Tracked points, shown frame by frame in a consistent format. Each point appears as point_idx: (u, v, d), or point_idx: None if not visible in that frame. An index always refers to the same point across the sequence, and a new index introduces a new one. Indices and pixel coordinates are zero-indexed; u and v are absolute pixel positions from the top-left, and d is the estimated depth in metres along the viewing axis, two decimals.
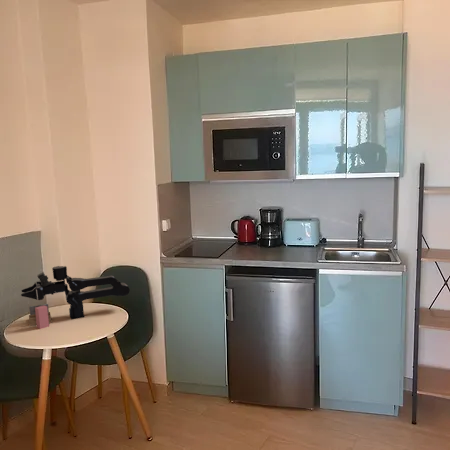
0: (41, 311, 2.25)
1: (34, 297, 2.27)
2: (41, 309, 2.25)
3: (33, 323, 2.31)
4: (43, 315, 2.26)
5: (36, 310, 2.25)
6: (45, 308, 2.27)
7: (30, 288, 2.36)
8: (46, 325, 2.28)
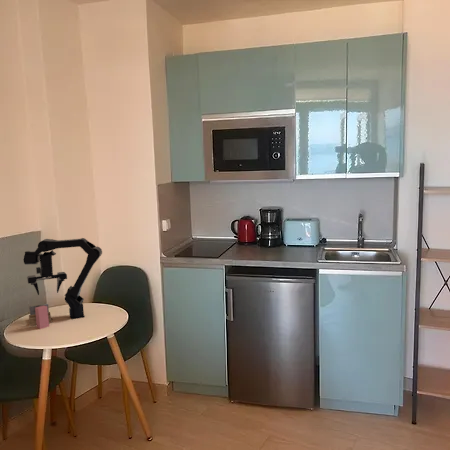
0: (41, 311, 2.25)
1: None
2: (41, 309, 2.25)
3: (33, 323, 2.31)
4: (43, 315, 2.26)
5: (36, 310, 2.25)
6: (45, 308, 2.27)
7: (57, 284, 2.42)
8: (46, 325, 2.28)
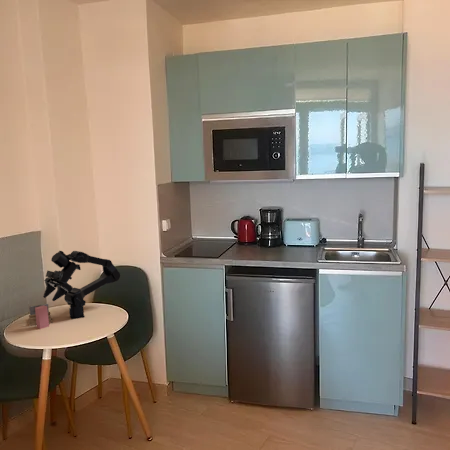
0: (41, 311, 2.25)
1: (64, 293, 2.29)
2: (41, 309, 2.25)
3: (33, 323, 2.31)
4: (43, 315, 2.26)
5: (36, 310, 2.25)
6: (45, 308, 2.27)
7: (48, 289, 2.34)
8: (46, 325, 2.28)
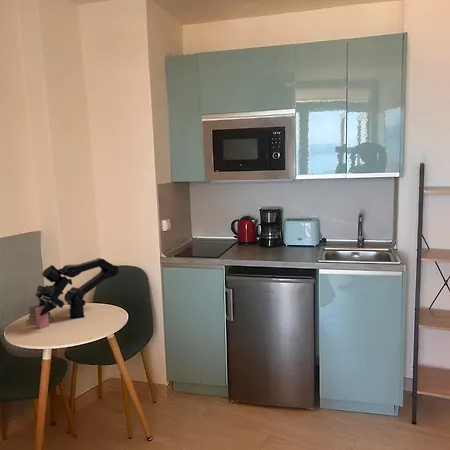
0: (41, 311, 2.25)
1: (52, 307, 2.27)
2: (41, 309, 2.25)
3: (33, 323, 2.31)
4: (43, 315, 2.26)
5: (36, 310, 2.25)
6: None
7: (41, 305, 2.29)
8: (46, 325, 2.28)
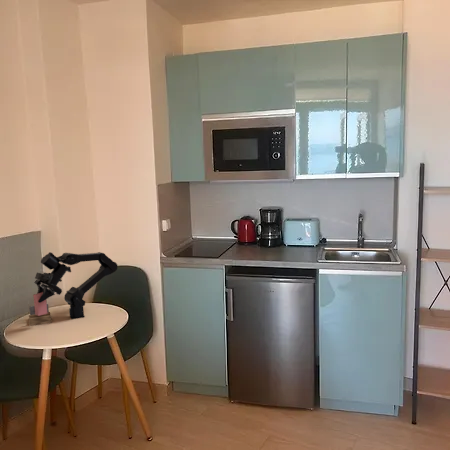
0: (39, 298, 2.25)
1: (51, 294, 2.27)
2: (39, 296, 2.25)
3: (33, 323, 2.31)
4: (41, 302, 2.26)
5: (35, 297, 2.25)
6: None
7: (39, 292, 2.29)
8: (44, 312, 2.27)
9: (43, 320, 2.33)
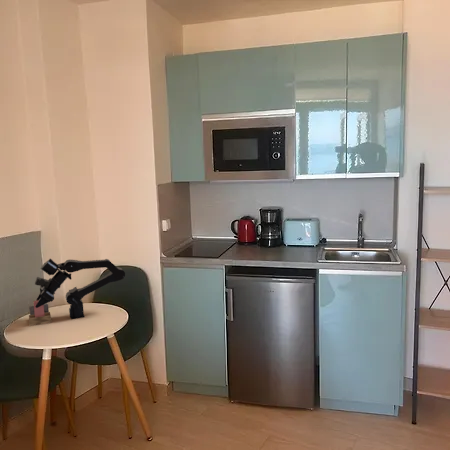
0: None
1: (47, 301, 2.30)
2: (36, 303, 2.32)
3: (33, 323, 2.31)
4: (39, 309, 2.33)
5: None
6: None
7: (40, 295, 2.38)
8: None
9: (43, 320, 2.33)
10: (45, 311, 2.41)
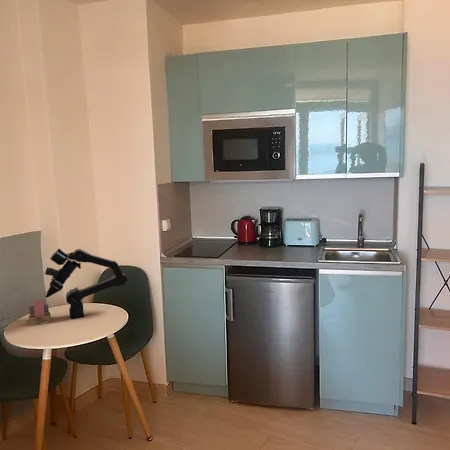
0: (36, 305, 2.32)
1: (56, 290, 2.31)
2: (36, 303, 2.32)
3: (33, 323, 2.31)
4: (39, 309, 2.33)
5: None
6: (41, 302, 2.33)
7: None
8: None
9: (43, 320, 2.33)
10: (45, 311, 2.41)
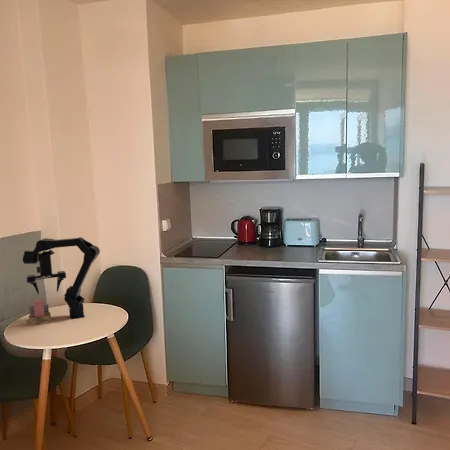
0: (36, 305, 2.32)
1: None
2: (36, 303, 2.32)
3: (33, 323, 2.31)
4: (39, 309, 2.33)
5: None
6: (41, 302, 2.33)
7: None
8: None
9: (43, 320, 2.33)
10: (45, 311, 2.41)
